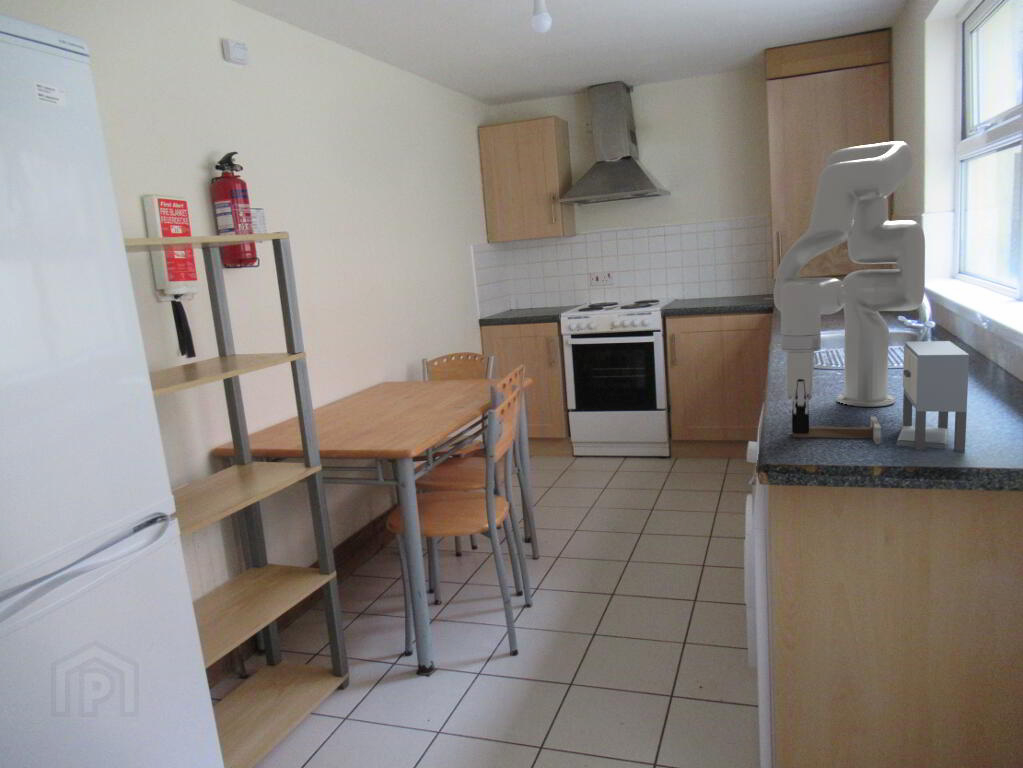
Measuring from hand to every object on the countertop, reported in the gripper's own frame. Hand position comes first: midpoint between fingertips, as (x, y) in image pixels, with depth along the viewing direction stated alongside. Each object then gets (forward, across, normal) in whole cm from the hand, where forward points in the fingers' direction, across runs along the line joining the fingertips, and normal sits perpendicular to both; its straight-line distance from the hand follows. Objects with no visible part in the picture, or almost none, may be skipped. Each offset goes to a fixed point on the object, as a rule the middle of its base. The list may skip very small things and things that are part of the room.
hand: (800, 430), depth 155 cm
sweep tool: (+1, 0, +6) cm, 7 cm away
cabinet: (+1, 0, +24) cm, 24 cm away
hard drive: (+2, 0, +22) cm, 22 cm away
